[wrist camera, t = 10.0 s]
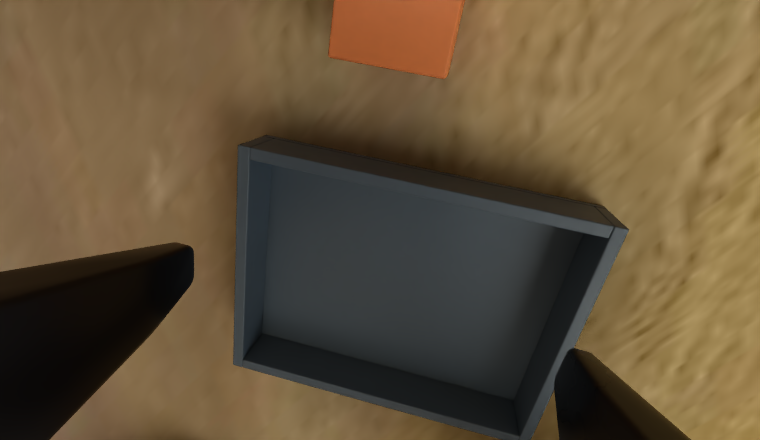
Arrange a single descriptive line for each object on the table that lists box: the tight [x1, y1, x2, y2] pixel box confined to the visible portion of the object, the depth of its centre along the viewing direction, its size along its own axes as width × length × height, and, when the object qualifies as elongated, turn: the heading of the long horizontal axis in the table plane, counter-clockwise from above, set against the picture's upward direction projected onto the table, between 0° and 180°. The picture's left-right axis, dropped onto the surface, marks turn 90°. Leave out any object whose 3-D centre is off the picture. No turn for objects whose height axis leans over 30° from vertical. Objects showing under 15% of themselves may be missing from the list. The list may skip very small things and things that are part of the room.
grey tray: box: [233, 135, 629, 440], centre depth 20 cm, size 17×13×3 cm
